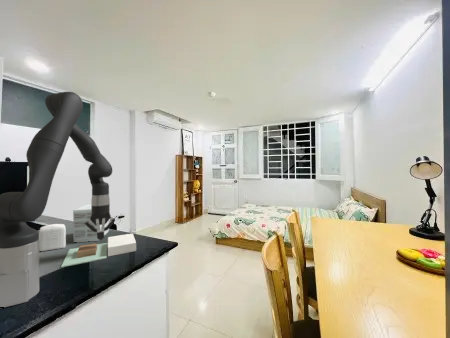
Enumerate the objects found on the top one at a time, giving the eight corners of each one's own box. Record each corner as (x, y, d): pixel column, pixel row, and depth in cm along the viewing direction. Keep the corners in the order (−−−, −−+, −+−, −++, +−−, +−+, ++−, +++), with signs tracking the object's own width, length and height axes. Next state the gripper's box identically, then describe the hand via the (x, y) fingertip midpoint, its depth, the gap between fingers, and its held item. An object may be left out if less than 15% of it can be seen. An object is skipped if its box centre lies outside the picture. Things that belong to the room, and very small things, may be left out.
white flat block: (136, 250, 97) (136, 242, 97) (107, 256, 91) (107, 247, 91) (132, 240, 111) (132, 233, 111) (108, 244, 105) (108, 237, 105)
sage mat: (106, 258, 89) (106, 257, 89) (61, 267, 81) (61, 266, 81) (107, 243, 107) (107, 242, 107) (69, 249, 98) (69, 249, 98)
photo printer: (66, 245, 105) (66, 221, 104) (65, 248, 101) (65, 223, 101) (40, 249, 99) (39, 225, 99) (38, 252, 95) (37, 227, 95)
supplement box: (86, 232, 124) (85, 204, 124) (109, 231, 127) (109, 203, 127) (72, 243, 107) (72, 209, 107) (99, 240, 111) (99, 208, 111)
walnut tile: (77, 252, 88) (77, 258, 89) (95, 249, 92) (95, 254, 92) (79, 245, 96) (80, 250, 96) (97, 243, 100) (97, 248, 100)
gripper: (83, 206, 90) (83, 244, 90) (116, 203, 96) (116, 239, 96) (84, 203, 96) (85, 239, 96) (115, 201, 103) (116, 234, 103)
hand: (100, 239), depth 96 cm, fingers closed
